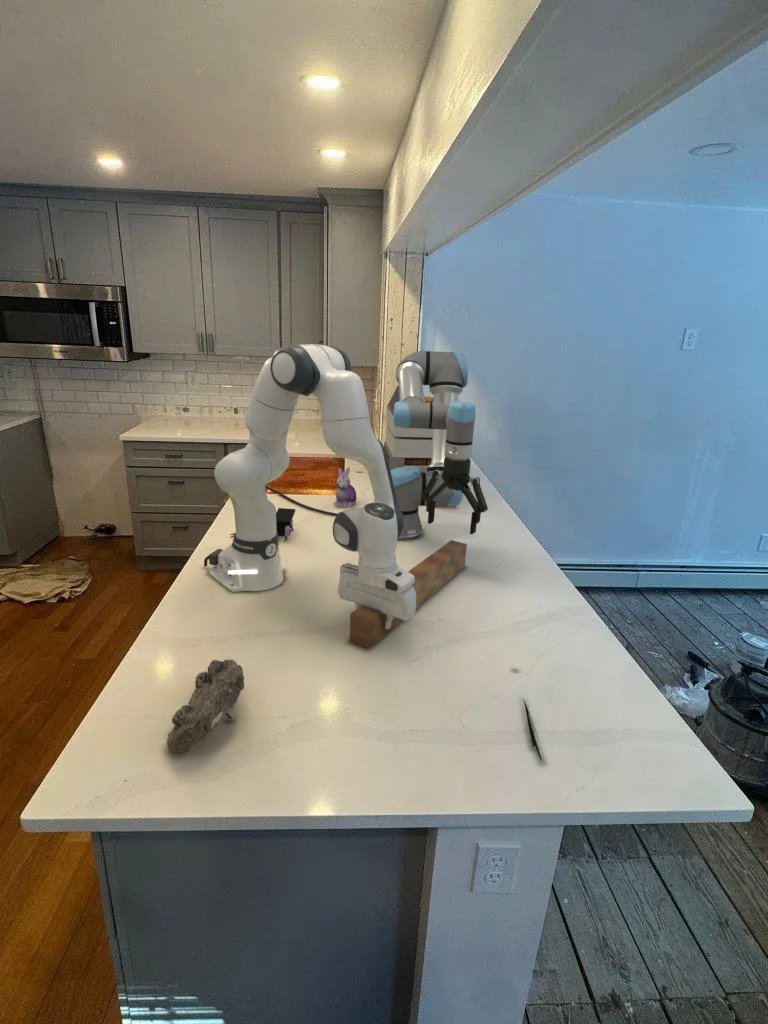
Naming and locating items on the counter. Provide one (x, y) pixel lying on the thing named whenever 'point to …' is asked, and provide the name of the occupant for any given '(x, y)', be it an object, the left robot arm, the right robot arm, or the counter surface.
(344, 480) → the figurine
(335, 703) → the counter surface
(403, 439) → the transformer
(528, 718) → the feather
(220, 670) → the fossil
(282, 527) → the figurine character
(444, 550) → the bar
